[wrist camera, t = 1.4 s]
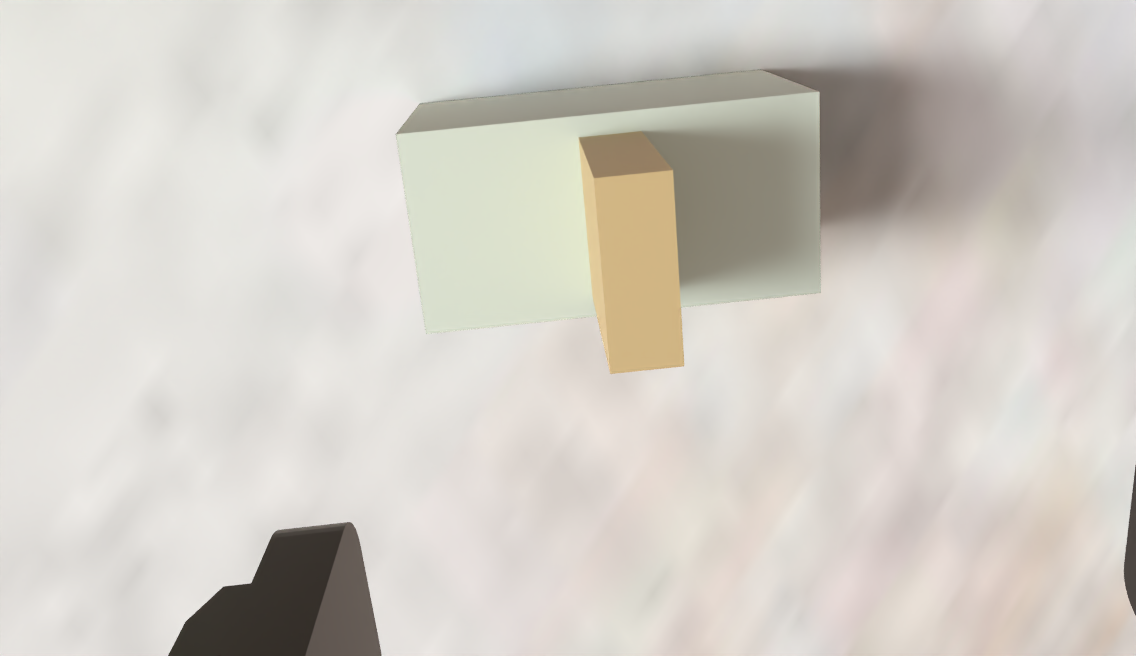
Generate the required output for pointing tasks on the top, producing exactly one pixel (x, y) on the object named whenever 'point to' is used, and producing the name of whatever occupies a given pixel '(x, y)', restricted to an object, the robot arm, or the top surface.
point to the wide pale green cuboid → (614, 205)
